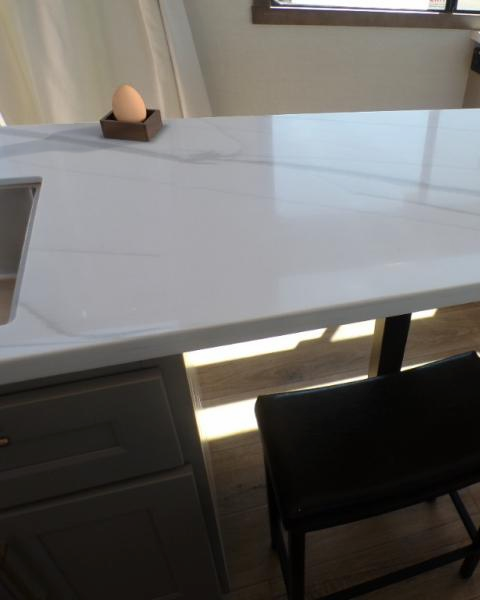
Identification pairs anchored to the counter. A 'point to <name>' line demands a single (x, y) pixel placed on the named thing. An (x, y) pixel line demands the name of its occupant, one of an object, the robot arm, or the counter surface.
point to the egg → (128, 105)
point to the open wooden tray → (132, 127)
